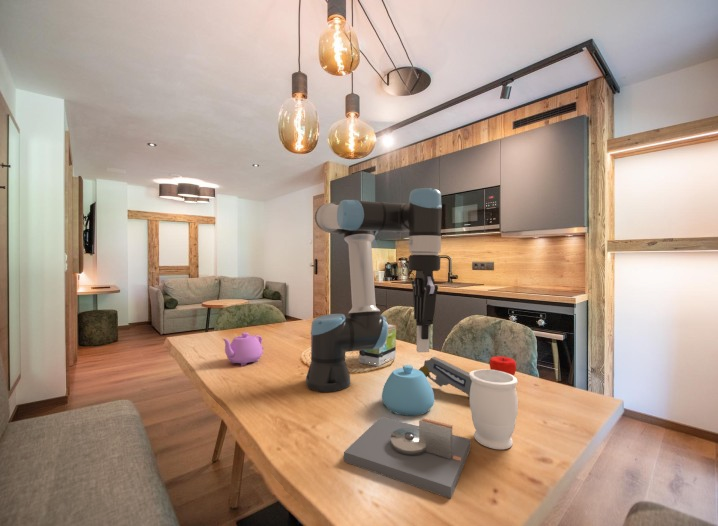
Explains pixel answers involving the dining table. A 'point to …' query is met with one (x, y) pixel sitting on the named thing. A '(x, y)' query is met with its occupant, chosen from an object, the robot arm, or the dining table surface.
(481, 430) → the jar
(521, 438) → the dining table surface
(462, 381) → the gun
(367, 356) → the tea box
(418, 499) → the dining table surface
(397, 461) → the board
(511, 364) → the apple
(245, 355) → the teapot
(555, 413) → the dining table surface
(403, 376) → the sugar bowl
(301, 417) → the dining table surface
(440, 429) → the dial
